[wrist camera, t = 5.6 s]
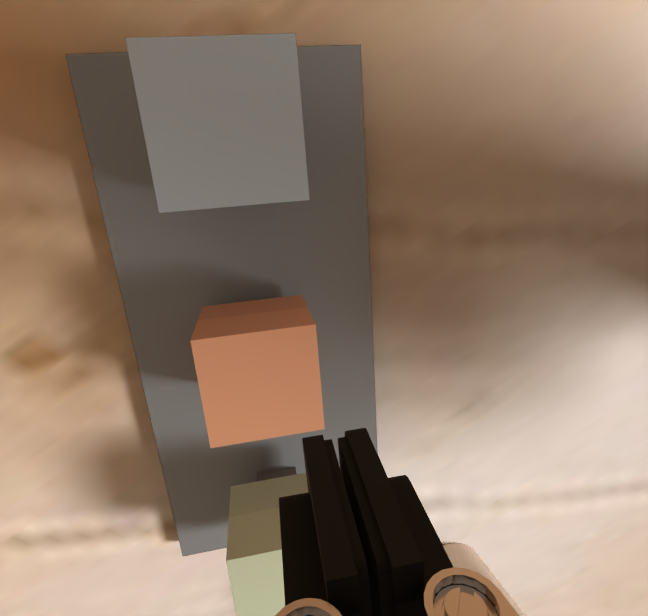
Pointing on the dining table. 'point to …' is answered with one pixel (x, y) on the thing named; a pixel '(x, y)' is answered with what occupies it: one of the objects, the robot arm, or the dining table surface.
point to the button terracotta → (258, 370)
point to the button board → (236, 276)
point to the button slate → (221, 119)
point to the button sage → (258, 544)
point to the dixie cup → (476, 567)
